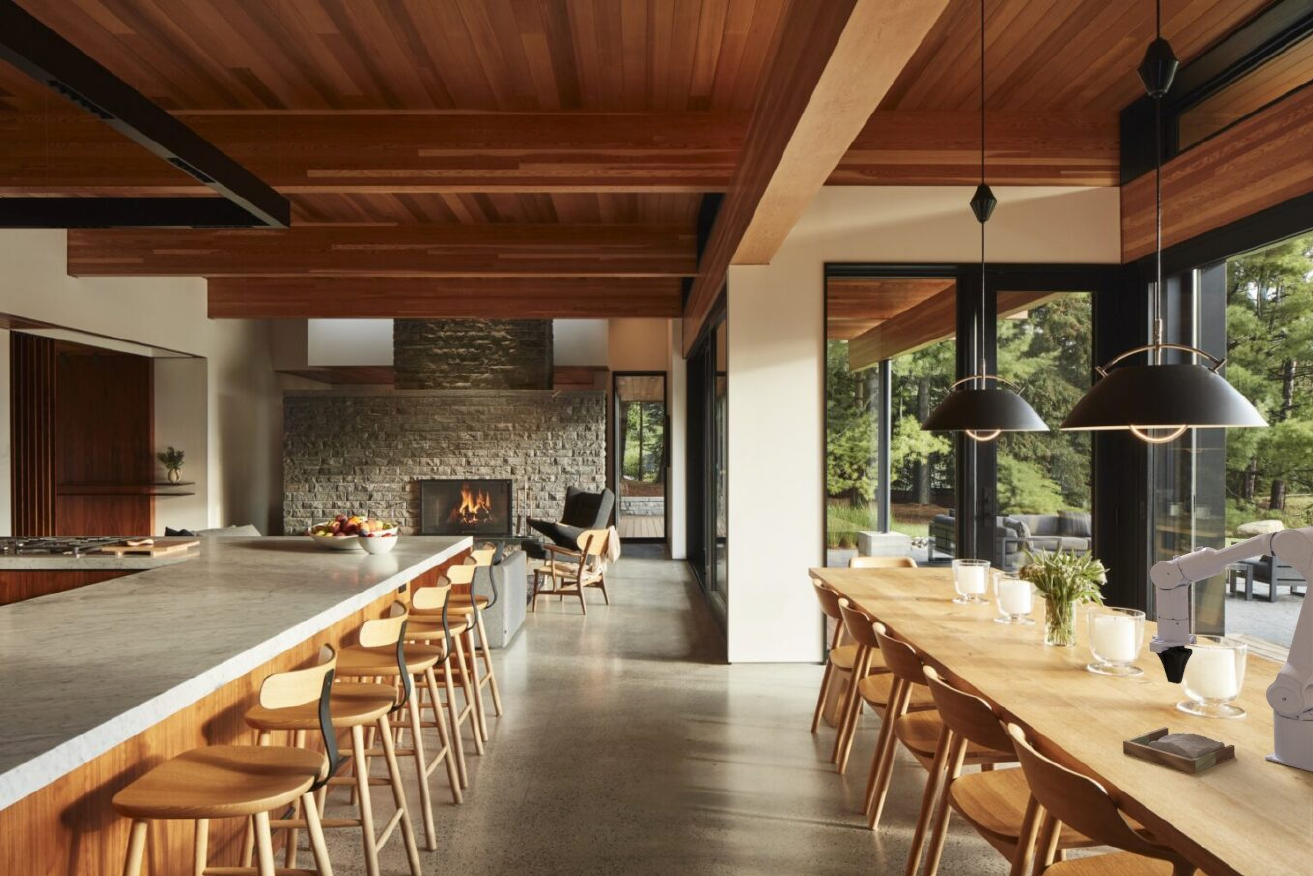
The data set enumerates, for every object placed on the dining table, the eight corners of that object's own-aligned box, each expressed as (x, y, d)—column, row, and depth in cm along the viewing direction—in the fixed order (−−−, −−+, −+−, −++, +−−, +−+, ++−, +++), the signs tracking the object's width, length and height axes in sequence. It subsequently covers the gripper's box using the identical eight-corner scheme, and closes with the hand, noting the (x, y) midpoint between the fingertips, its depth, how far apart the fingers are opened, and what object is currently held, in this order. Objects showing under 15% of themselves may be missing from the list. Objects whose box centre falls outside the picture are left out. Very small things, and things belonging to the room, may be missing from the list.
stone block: (1145, 766, 160) (1200, 771, 152) (1140, 740, 161) (1194, 744, 153) (1177, 756, 166) (1231, 761, 158) (1172, 731, 167) (1226, 734, 159)
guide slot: (1234, 757, 158) (1234, 745, 158) (1192, 773, 151) (1192, 761, 151) (1165, 738, 169) (1165, 727, 170) (1123, 752, 162) (1122, 741, 162)
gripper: (1171, 611, 182) (1173, 673, 182) (1134, 618, 175) (1135, 683, 174) (1206, 616, 176) (1208, 680, 176) (1168, 624, 169) (1170, 691, 168)
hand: (1174, 682), depth 175 cm, fingers closed
